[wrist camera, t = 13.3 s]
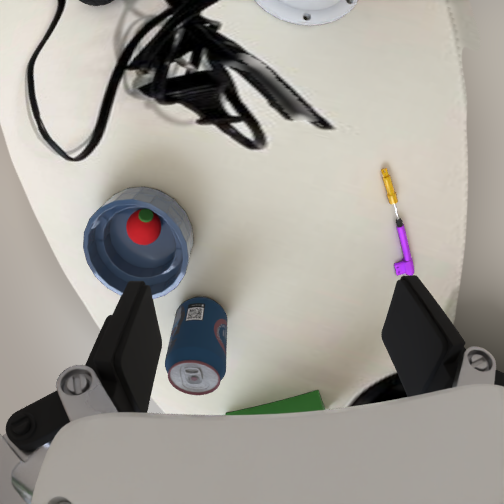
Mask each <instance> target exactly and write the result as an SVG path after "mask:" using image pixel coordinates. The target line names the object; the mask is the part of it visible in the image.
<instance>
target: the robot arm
mask: <svg viewBox="0 0 504 504" xmlns="http://www.w3.org/2000/svg"><path fill="white" fill-rule="evenodd" d="M255 1H256V2H257V4H258V5H259V6H261V7H262V8H263V9H264V10H265V11H267V12H268V13H270V14H272V15H273V16H275V17H277V18H279V19H282V20H284V21H287V22H291V23H294V24H300V25H322V24H326V23H330V22H333V21H335V20H338V19H340V18H341V17H343V16H344V15H346V14H347V13H348V12H349V11H351V10H352V8H353V7H354V6H355V5H356V3H357V1H358V0H255ZM346 1H348V2H349V3H347V2H346ZM303 17H307V19H308V20H304V18H303ZM382 340H383V342H384V345H385V347H386V349H387V351H388V353H389V355H390V357H391V360H392V362H393V364H394V366H395V368H396V371H397V373H398V375H399V377H400V380H401V382H402V384H403V386H404V389H405V391H406V393H407V396H408V397H406V398H401V399H396V400H390V401H385V402H379V403H373V404H366V405H360V406H352V407H345V408H337V409H329V410H319V411H309V412H297V413H282V414H263V415H182V414H161V413H160V414H159V413H147V410H148V405H149V401H150V396H151V392H152V387H153V382H154V378H155V374H156V369H157V365H158V361H159V356H160V352H161V348H162V339H161V334H160V330H159V326H158V321H157V317H156V312H155V307H154V303H153V298H152V293H151V288H150V286H149V285H146V284H145V282H144V281H129V282H128V283H127V285H126V288H125V290H124V292H123V294H122V296H121V298H120V300H119V302H118V304H117V306H116V309H115V311H114V313H113V315H109V316H108V317H107V318H106V320H105V322H104V324H103V327H102V329H101V331H100V333H99V335H98V338H97V340H96V342H95V344H94V347H93V349H92V351H91V353H90V356H89V358H88V361H87V363H86V365H75V366H72V367H69V368H67V369H66V370H64V371H63V372H62V373H61V374H60V375H59V377H58V379H57V383H56V388H57V391H55V392H53V393H51V394H49V395H47V396H46V397H44V398H42V399H40V400H38V401H36V402H34V403H32V404H30V405H28V406H26V407H25V408H23V409H21V410H19V411H17V412H15V413H14V414H13V415H12V416H11V417H10V418H9V420H8V422H7V424H6V434H5V435H4V436H1V434H0V504H504V373H502V372H500V371H497V370H496V362H495V359H494V357H493V356H492V355H491V353H489V352H488V351H487V350H485V349H483V348H481V347H470V348H468V349H467V350H466V349H465V348H464V345H465V341H464V340H463V338H462V337H461V335H460V334H459V332H458V331H457V330H456V328H455V327H454V325H453V324H452V322H451V321H450V320H449V318H448V317H447V315H446V314H445V313H444V311H443V310H442V308H441V307H440V306H439V304H438V303H437V302H436V300H435V299H434V298H433V296H432V295H431V294H430V292H429V291H428V290H427V288H426V287H425V286H424V285H423V283H422V282H421V281H420V279H419V278H418V277H417V276H415V275H412V276H402V277H401V279H400V280H398V281H397V283H396V287H395V290H394V294H393V297H392V301H391V304H390V307H389V311H388V314H387V317H386V320H385V323H384V326H383V329H382Z"/></svg>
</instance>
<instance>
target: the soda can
mask: <svg viewBox="0 0 504 504" xmlns="http://www.w3.org/2000/svg"><path fill="white" fill-rule="evenodd" d="M226 345H227V315H226V313H225V311H224V309H223V308H222V307H221V306H220V305H219V304H218V303H217V302H215V301H214V300H212V299H210V298H206V297H195V298H192V299H189V300H187V301H185V302H184V303H182V304H181V305H180V306H179V308H178V309H177V312H176V316H175V320H174V324H173V328H172V333H171V337H170V342H169V346H168V351H167V355H166V360H165V367H166V370H167V373H168V379H169V381H170V383H171V384H172V386H173V387H175V388H176V389H177V390H179V391H181V392H184V393H187V394H191V395H204V394H208V393H211V392H213V391H214V390H216V389H217V388H218V386H219V384H220V381H221V380H222V379H223V377H224V375H225V372H226Z"/></svg>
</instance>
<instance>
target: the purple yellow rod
mask: <svg viewBox="0 0 504 504" xmlns="http://www.w3.org/2000/svg"><path fill="white" fill-rule="evenodd" d="M381 171H382V174H383V177H382V178H383V181H384V184H385V187H386V191H387V197H388V200H389V203H390V204H394V208H395V211H396V215H397V219H396V224H397V230H398V234H399V238H400V242H401V246H402V251H403V255H404V258H403V259H402V260H403V261H401V262H398V263H395V264H394V266H395V270H396V274H397V276H398V275H401V274H404V273H406V275H410V276H411V275H413V274H414V266H413V261H412V258H411V254H410V249H409V245H408V241H407V236H406V232H405V228H404V224H403V223H402V220H401V218H399V216H398V212H397V209H396V205H395V203H397V202H398V199H397V195H396V192H395V191H394V187H393V184H392V181H391V177H390V175H389V174H388V171H387V168H385V169H382V170H381ZM384 171H386V172H385V173H384Z"/></svg>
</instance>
